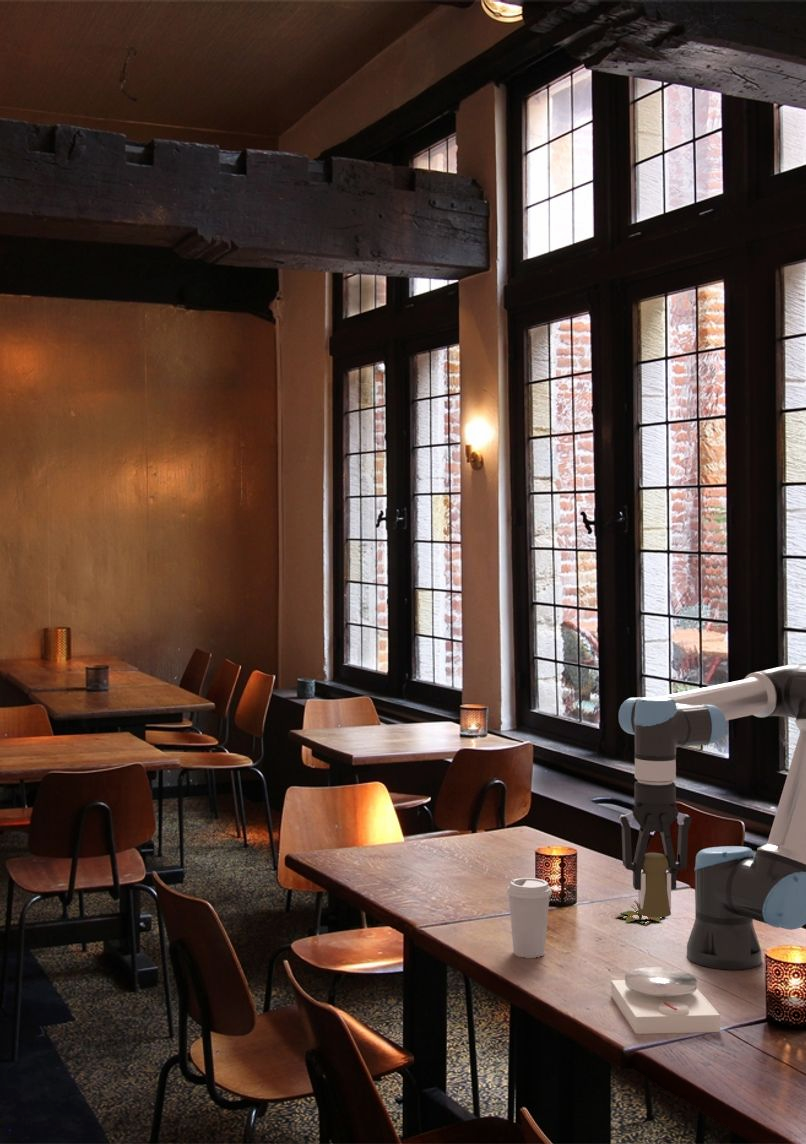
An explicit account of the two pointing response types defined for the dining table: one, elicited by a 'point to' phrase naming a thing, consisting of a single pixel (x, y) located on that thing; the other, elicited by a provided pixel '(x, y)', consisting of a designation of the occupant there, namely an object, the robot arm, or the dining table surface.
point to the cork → (655, 886)
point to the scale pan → (660, 982)
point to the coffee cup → (529, 915)
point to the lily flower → (631, 913)
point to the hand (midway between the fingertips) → (654, 906)
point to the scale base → (665, 1011)
